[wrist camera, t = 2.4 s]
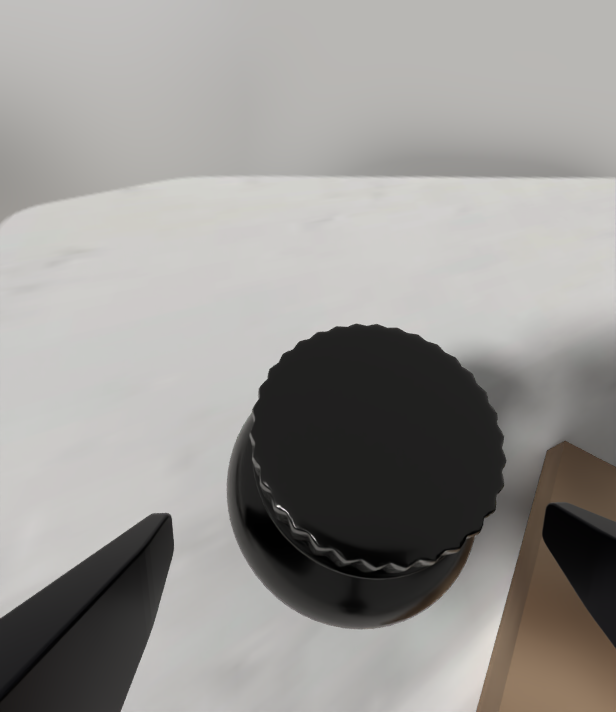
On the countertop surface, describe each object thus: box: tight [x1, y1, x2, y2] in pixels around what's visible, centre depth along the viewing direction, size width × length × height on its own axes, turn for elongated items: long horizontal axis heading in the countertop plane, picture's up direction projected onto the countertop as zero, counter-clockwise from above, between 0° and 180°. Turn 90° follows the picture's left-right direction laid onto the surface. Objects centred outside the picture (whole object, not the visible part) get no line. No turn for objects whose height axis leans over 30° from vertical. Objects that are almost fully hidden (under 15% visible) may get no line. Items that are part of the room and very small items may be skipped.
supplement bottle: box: [227, 324, 506, 629], centre depth 12 cm, size 7×7×12 cm
